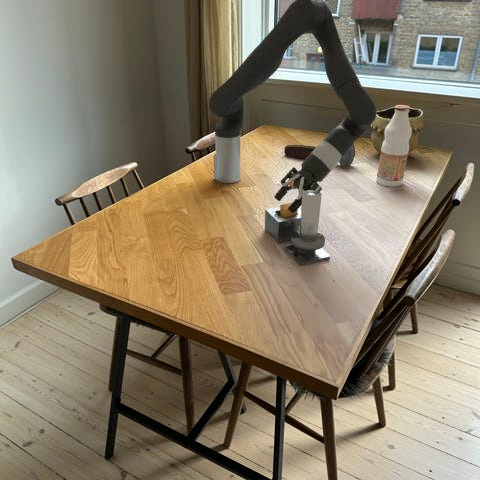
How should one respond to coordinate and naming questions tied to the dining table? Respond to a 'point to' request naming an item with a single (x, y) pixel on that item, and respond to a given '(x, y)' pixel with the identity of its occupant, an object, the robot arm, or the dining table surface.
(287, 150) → the hammer
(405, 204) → the dining table surface
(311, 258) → the bracket post
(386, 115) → the clay pot
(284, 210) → the orange block
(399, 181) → the fruit juice
